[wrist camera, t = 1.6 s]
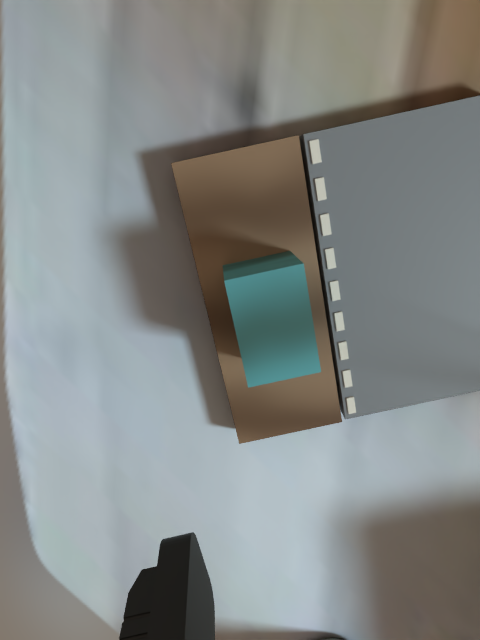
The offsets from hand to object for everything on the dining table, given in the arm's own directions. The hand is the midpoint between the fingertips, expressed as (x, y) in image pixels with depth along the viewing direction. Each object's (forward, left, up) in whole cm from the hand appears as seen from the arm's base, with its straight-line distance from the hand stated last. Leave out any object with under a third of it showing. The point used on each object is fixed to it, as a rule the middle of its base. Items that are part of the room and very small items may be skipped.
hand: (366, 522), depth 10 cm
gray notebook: (0, +9, -19) cm, 21 cm away
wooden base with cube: (0, 0, -19) cm, 19 cm away
